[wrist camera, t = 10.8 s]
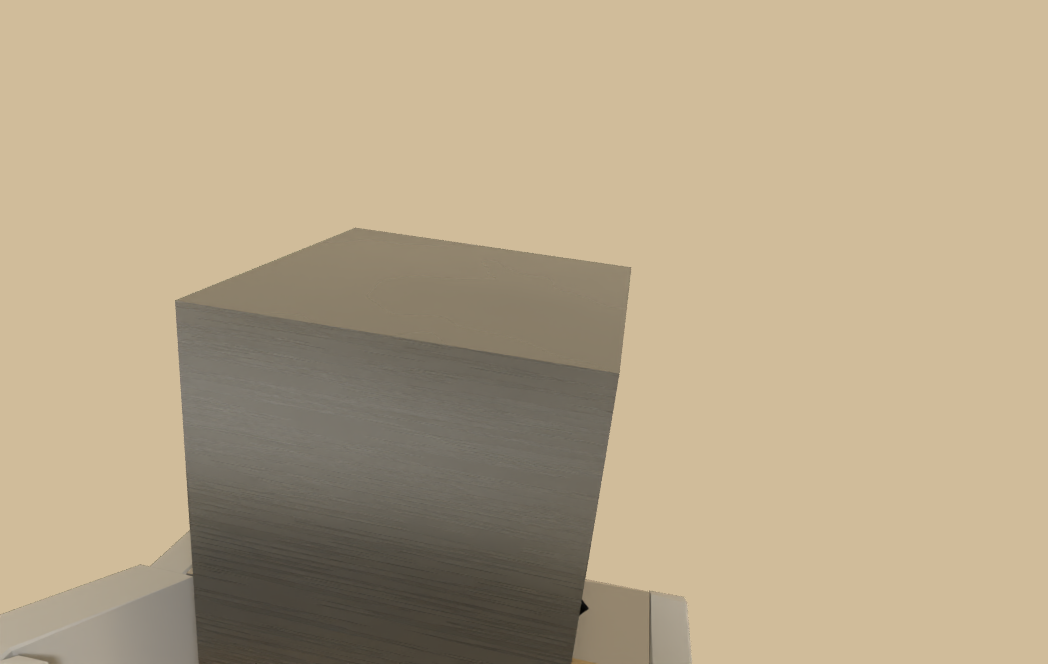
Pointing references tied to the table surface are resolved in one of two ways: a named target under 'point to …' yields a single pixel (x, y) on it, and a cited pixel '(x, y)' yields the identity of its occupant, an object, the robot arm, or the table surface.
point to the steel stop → (397, 451)
